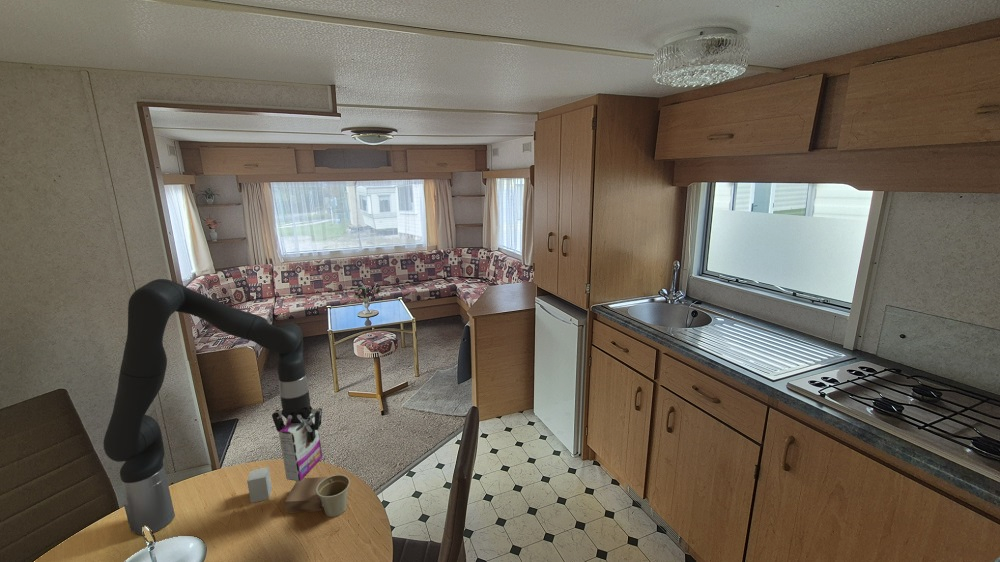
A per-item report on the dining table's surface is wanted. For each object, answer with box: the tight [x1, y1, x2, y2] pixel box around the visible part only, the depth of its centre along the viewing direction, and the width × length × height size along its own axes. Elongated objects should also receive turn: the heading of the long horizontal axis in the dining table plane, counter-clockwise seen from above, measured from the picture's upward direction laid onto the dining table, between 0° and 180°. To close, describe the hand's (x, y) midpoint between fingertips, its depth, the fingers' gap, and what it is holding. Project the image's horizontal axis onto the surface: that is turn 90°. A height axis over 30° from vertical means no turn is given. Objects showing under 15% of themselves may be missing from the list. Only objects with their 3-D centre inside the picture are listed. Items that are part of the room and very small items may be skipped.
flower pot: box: [316, 474, 351, 518], centre depth 125 cm, size 9×9×9 cm
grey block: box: [246, 466, 273, 504], centre depth 131 cm, size 5×5×8 cm
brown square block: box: [284, 476, 328, 514], centre depth 130 cm, size 10×10×4 cm
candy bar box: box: [278, 413, 323, 482], centre depth 125 cm, size 11×5×16 cm, turn 169°
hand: (301, 441), depth 125 cm, fingers closed on candy bar box, 5 cm apart
